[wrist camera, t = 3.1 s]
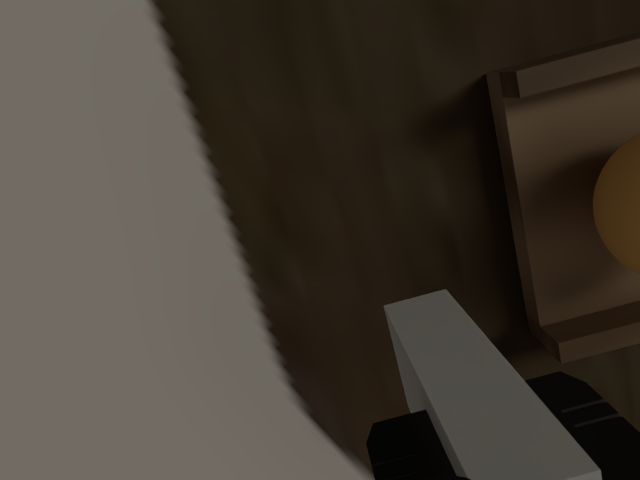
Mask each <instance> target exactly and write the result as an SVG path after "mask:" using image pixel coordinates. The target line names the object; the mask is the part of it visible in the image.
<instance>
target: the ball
mask: <svg viewBox="0 0 640 480" xmlns="http://www.w3.org/2000/svg"><path fill="white" fill-rule="evenodd" d="M593 214H594V220H595V225H596V228H597V230H598V233H599V235H600V237H601V239H602V241H603V242H604V244H605V246H606V247H607V248H608V250H609V251H610V252H611V253H612V254H613V255H614V256H615V257H616V258H617V259H618V260H619V261H620V262H621V263H622V264H623V265H625V266H626V267H628V268H629V269H631V270H632V271H634V272H636V273H638V274H639V275H640V133H639V134H637V135H636V136H634V137H632V138H631V139H629V140H628V141H627V142H626V143H624V144H623V145H622V146H621V147H620V148H619V149H618V150H617V151H616V152H615V153H614V154H613V155H612V156H611V157H610V159H609V160H608V161H607V163H606V164H605V166H604V167H603V169H602V171H601V173H600V175H599V177H598V180H597V183H596V186H595V190H594V195H593Z"/></svg>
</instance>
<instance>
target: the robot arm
mask: <svg viewBox="0 0 640 480" xmlns="http://www.w3.org/2000/svg"><path fill="white" fill-rule="evenodd" d="M384 309H385V313H386V318H387V322H388V326H389V330H390V334H391V338H392V342H393V346H394V350H395V354H396V358H397V363H398V367H399V371H400V375H401V379H402V383H403V387H404V391H405V395H406V399H407V403H408V407H409V410H410V412H411V413H410V414H406V415H403V416H399V417H395V418H391V419H388V420H384V421H380V422H377V423H373V425H372V428H371V431H370V434H369V437H368V440H367V443H366V444H367V448H368V453H369V457H370V461H371V465H372V469H373V473H374V477H375V480H640V433H639V432H638V431H637V430H636V429H635V428H634V427H633V426H632V425H631V424H630V423H629V422H628V421H627V420H626V419H624V418H623V417H620V416H619V413H618V412H617V411H616V410H615V409H614V408H613V407H612V406H611V405H610V404H608V403H607V402H606V403H605V402H604V399H603V398H602V397H601V396H600V395H599V394H598V393H597V392H596V391H595V390H594V389H592V388H591V387H590V386H589V385H588V384H587V383H586V382H584V381H582V380H579V379H577V378H574V377H572V376H570V375H567V374H565V373H563V372H560V371H559V372H555V373H552V374H548V375H544V376H541V377H537V378H533V379H529V380H526V381H524V380H523V379H522V378H521V376H520V375H519V374H518V373H517V372H516V371H515V369H514V368H513V367H512V366H511V365H510V364H509V362H508V361H507V360H506V359H505V358H504V357H503V355H502V354H501V353H500V352H499V351H498V350H497V348H496V347H495V346H494V345H493V344H492V342H491V341H490V340H489V339H488V338H487V337H486V335H485V334H484V333H483V332H482V331H481V330H480V328H479V327H478V326H477V325H476V324H475V323H474V321H473V320H472V319H471V318H470V317H469V316H468V314H467V313H466V312H465V311H464V310H463V309H462V307H461V306H460V305H459V304H458V303H457V302H456V300H455V299H454V298H453V297H452V296H451V295H450V293H449V292H448V291H447V290H446V289H444V290H441V291H437V292H433V293H429V294H426V295H422V296H418V297H414V298H411V299H407V300H403V301H400V302H396V303H392V304H388V305H385V306H384Z"/></svg>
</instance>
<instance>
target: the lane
mask: <svg viewBox="0 0 640 480" xmlns="http://www.w3.org/2000/svg"><path fill="white" fill-rule="evenodd" d="M486 77H487V83H488V89H489V95H490V101H491V107H492V113H493V118H494V124H495V130H496V136H497V142H498V148H499V154H500V160H501V166H502V172H503V178H504V184H505V190H506V196H507V201H508V207H509V213H510V219H511V225H512V231H513V237H514V243H515V249H516V255H517V261H518V267H519V273H520V279H521V284H522V290H523V296H524V302H525V308H526V314H527V320H528V326H529V332H530V333H531V334H532V335H533V336H534V337H535V338H536V339H537V340H538V341H539V342H540V343H541V344H542V345H543V346H544V347H545V348H546V349H547V350H548V351H549V352H550V353H551V354H552V355H553V356H554V357H555V358H556V359H557V360H558V361H559V362H560V363H561V364H563V363H566V362H570V361H574V360H578V359H581V358H585V357H589V356H593V355H597V354H600V353H604V352H608V351H612V350H616V349H619V348H623V347H627V346H631V345H635V344H638V343H640V275H639V274H638V273H636V272H634V271H632V270H631V269H629V268H628V267H626V266H625V265H623V264H622V263H621V262H620V261H619V260H618V259H617V258H616V257H615V256H614V255H613V254H612V253H611V252H610V251H609V250H608V248H607V247H606V246H605V244H604V242H603V241H602V239H601V237H600V235H599V233H598V230H597V228H596V225H595V220H594V214H593V195H594V190H595V186H596V183H597V180H598V177H599V175H600V173H601V171H602V169H603V167H604V166H605V164H606V163H607V161H608V160H609V159H610V157H611V156H612V155H613V154H614V153H615V152H616V151H617V150H618V149H619V148H620V147H621V146H622V145H623V144H624V143H626V142H627V141H628V140H629V139H631V138H632V137H634V136H636V135H637V134H639V133H640V33H636V34H632V35H628V36H625V37H621V38H617V39H613V40H610V41H606V42H602V43H598V44H595V45H591V46H587V47H583V48H580V49H576V50H572V51H568V52H565V53H561V54H557V55H553V56H550V57H546V58H542V59H538V60H535V61H531V62H527V63H524V64H520V65H516V66H512V67H509V68H505V69H501V70H497V71H494V72H490V73H486Z"/></svg>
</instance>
